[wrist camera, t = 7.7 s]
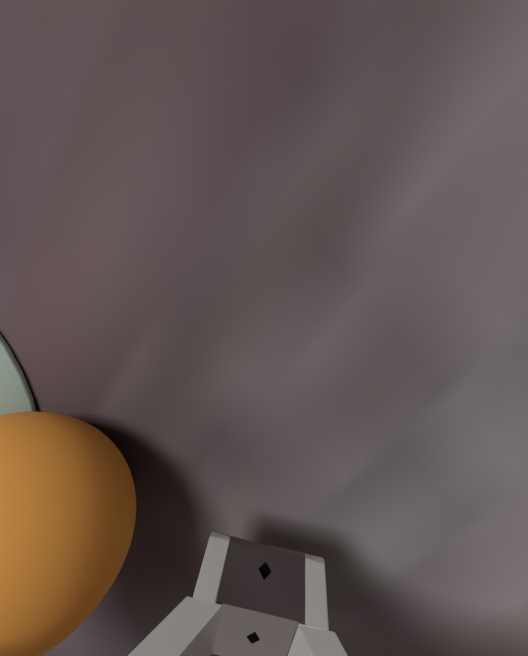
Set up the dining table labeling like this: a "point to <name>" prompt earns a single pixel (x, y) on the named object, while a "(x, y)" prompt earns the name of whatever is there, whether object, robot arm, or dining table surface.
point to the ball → (58, 526)
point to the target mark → (13, 384)
